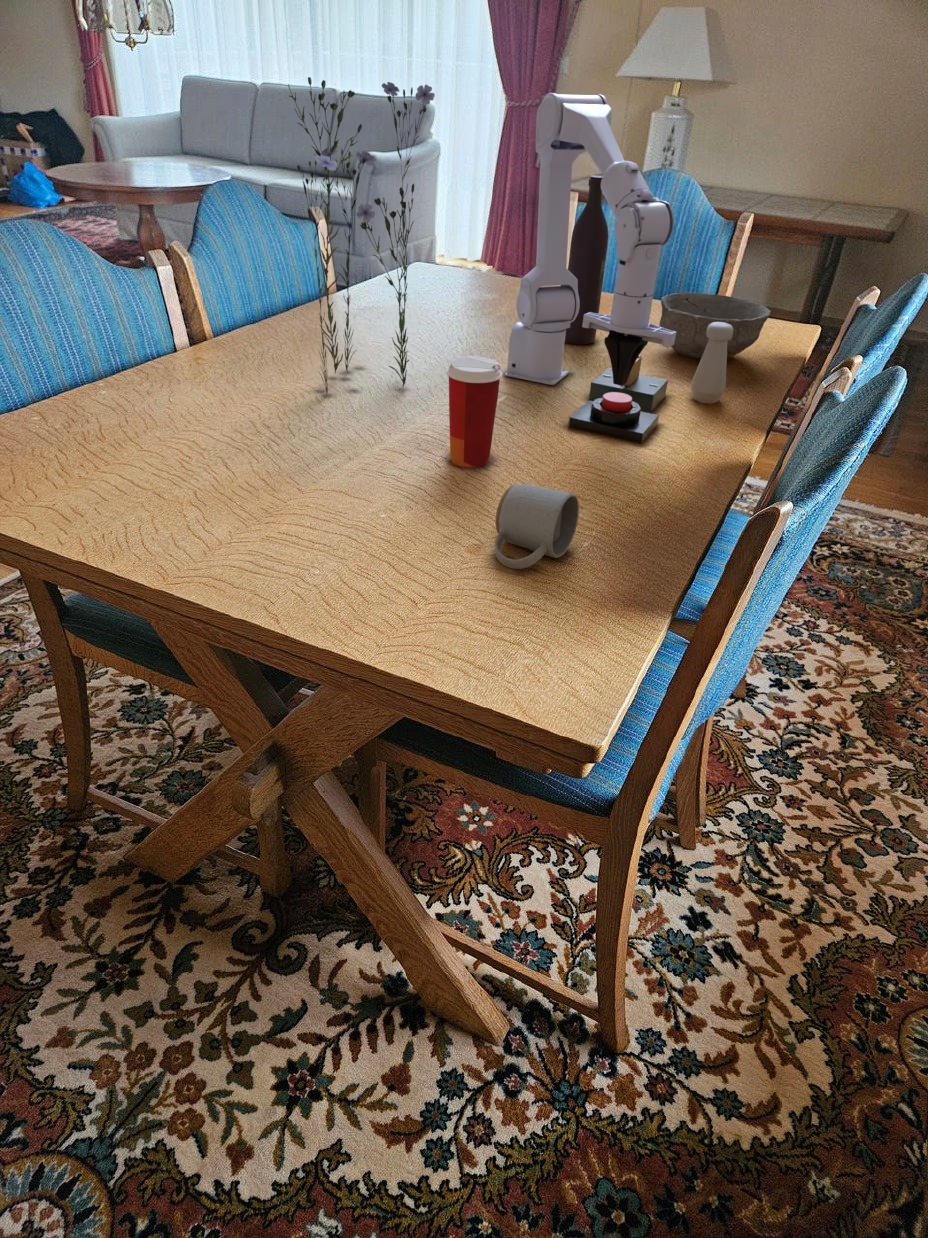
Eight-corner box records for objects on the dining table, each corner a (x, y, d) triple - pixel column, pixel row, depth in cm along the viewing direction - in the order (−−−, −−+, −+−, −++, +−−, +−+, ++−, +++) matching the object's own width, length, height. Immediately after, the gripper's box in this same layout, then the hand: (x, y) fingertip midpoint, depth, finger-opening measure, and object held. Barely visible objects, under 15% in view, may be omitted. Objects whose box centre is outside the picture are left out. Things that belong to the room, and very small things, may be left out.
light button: (597, 409, 135) (599, 398, 134) (606, 400, 138) (608, 389, 137) (625, 415, 133) (627, 404, 132) (634, 406, 137) (636, 395, 136)
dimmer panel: (588, 399, 147) (590, 381, 145) (606, 383, 154) (608, 366, 152) (650, 413, 143) (653, 394, 141) (665, 395, 150) (669, 378, 149)
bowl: (770, 354, 174) (783, 303, 168) (739, 380, 159) (752, 326, 153) (673, 334, 182) (682, 285, 177) (635, 357, 168) (644, 304, 162)
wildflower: (278, 397, 141) (254, 73, 116) (329, 356, 159) (317, 68, 134) (410, 415, 137) (414, 84, 112) (446, 371, 156) (456, 78, 130)
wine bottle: (596, 346, 173) (618, 180, 156) (561, 344, 172) (580, 178, 156) (592, 335, 178) (613, 174, 161) (558, 334, 178) (576, 172, 161)
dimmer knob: (629, 385, 145) (632, 363, 143) (621, 384, 145) (624, 361, 143) (638, 376, 149) (642, 354, 147) (631, 375, 149) (634, 353, 147)
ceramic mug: (517, 523, 108) (521, 468, 104) (576, 541, 105) (584, 485, 101) (476, 560, 101) (479, 502, 96) (539, 581, 98) (546, 521, 93)
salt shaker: (722, 407, 147) (740, 330, 140) (689, 403, 148) (704, 326, 141) (721, 395, 152) (738, 320, 145) (688, 392, 153) (703, 317, 145)
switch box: (568, 427, 136) (570, 406, 134) (587, 410, 143) (589, 389, 141) (641, 443, 132) (645, 422, 130) (657, 425, 139) (661, 404, 137)
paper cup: (502, 454, 126) (510, 359, 118) (486, 474, 120) (493, 376, 112) (452, 444, 128) (456, 351, 120) (434, 464, 122) (437, 367, 114)
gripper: (690, 296, 125) (673, 387, 133) (603, 278, 132) (591, 366, 140) (670, 305, 120) (653, 399, 128) (580, 286, 127) (569, 376, 135)
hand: (619, 383), depth 133 cm, fingers closed
